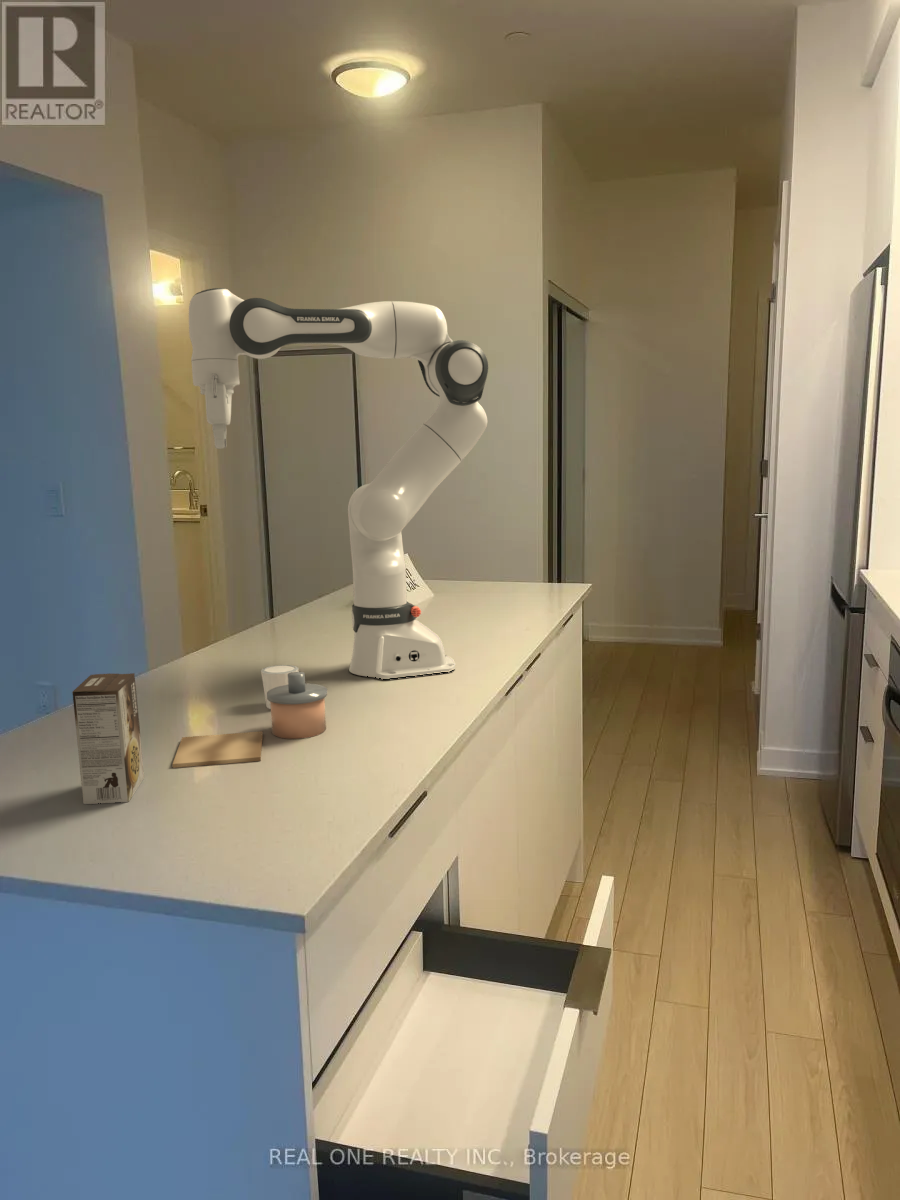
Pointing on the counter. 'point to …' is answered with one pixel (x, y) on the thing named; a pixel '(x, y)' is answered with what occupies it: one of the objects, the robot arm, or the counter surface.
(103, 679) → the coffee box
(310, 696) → the lid
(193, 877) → the counter surface
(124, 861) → the counter surface
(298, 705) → the canister
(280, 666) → the white cup
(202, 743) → the mat
